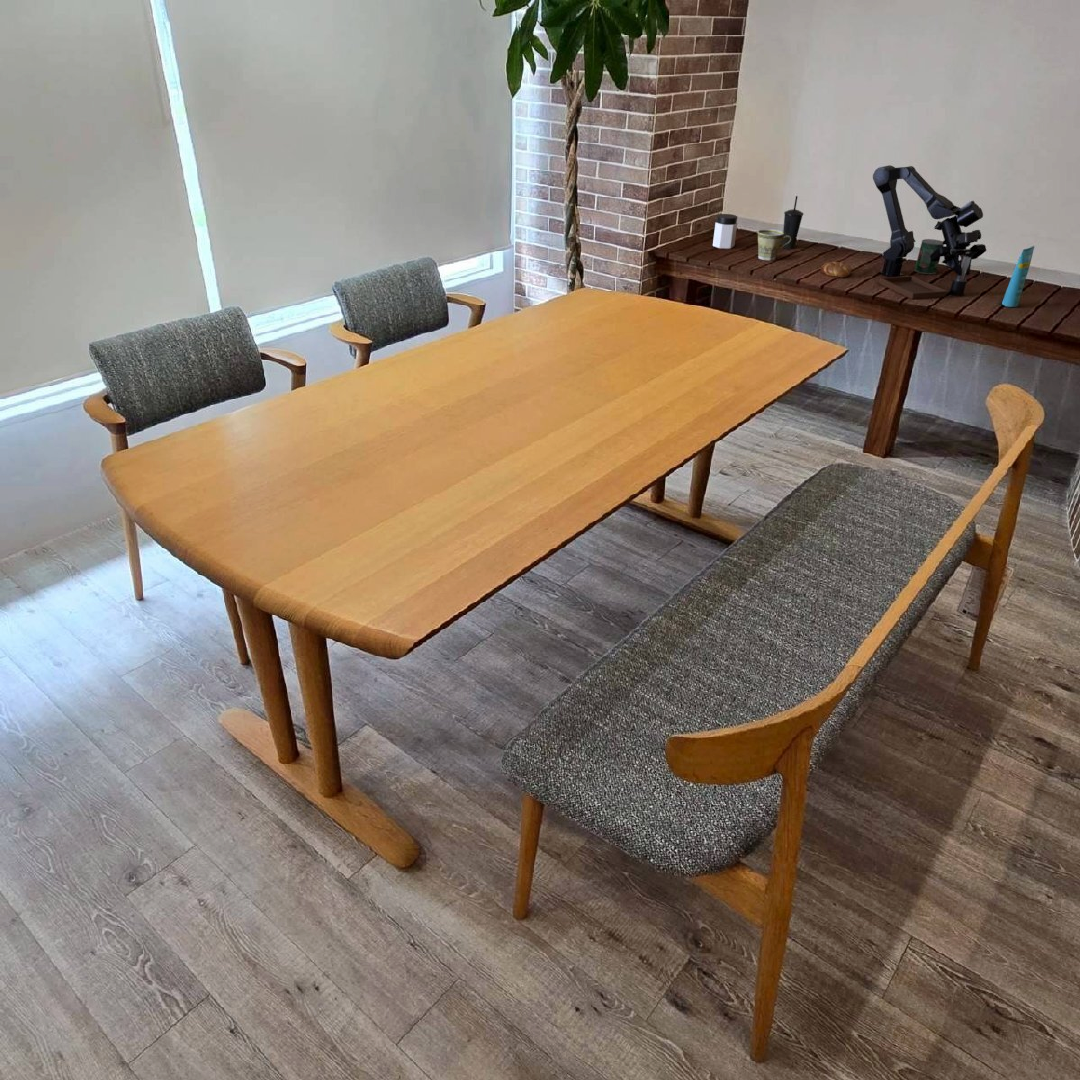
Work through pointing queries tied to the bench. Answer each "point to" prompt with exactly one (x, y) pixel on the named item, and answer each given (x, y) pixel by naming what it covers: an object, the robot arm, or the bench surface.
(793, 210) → the drinking cup
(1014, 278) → the tube
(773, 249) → the ceramic cup
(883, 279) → the tray
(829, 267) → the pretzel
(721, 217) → the jar
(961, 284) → the dark cylinder
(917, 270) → the canned tomato
